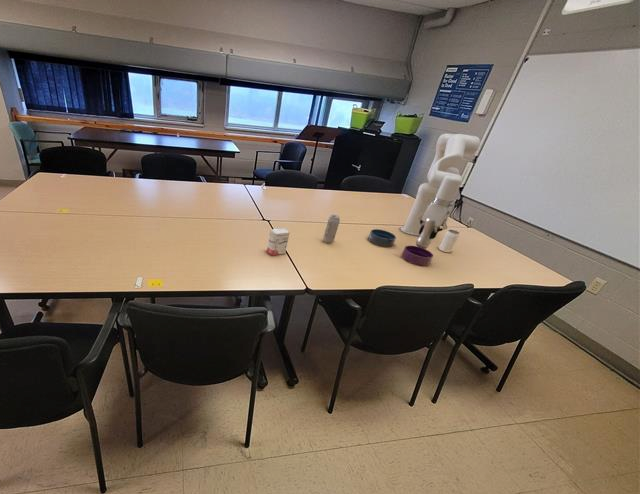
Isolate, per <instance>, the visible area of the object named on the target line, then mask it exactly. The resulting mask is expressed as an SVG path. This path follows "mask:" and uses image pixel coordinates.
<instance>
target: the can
mask: <svg viewBox="0 0 640 494" xmlns="http://www.w3.org/2000/svg"><path fill="white" fill-rule="evenodd" d="M459 236H460V232H459V231H457V230H454V229H448V230H447V231H446V233H445V234H444V236H443V238H442V240H441V242H440V244H439V246H438V250H440V251H441V252H443V253H451V251H452V250H453V248H454V246H455V244H456V242H457V240H458V238H459Z"/></svg>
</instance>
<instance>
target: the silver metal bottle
mask: <svg viewBox="0 0 640 494" xmlns="http://www.w3.org/2000/svg"><path fill="white" fill-rule="evenodd" d="M435 223H436V222H435V220H434V218H432V217H430V218H427V219H426V222H425V225H424V228H423V231H422V233H421V234H420V235H418V238H417V239H416V241H415V246H417V247H420V248H424V249H428V248H429V247H430V245H431V243H432V239H430V236H431V234H432V232H434V230H435Z"/></svg>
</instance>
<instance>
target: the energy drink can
mask: <svg viewBox="0 0 640 494" xmlns="http://www.w3.org/2000/svg"><path fill="white" fill-rule="evenodd" d="M340 218H341V217H340V215H337V214H331V215H330V216H329V217H328V219H327V223H326V227H325V230H324V234H323V238H322V240H323V242H324V243H326V244H333V242H334V241H335V238H336V235H337V231H338V228H339V225H340V221H341V220H340Z"/></svg>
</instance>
